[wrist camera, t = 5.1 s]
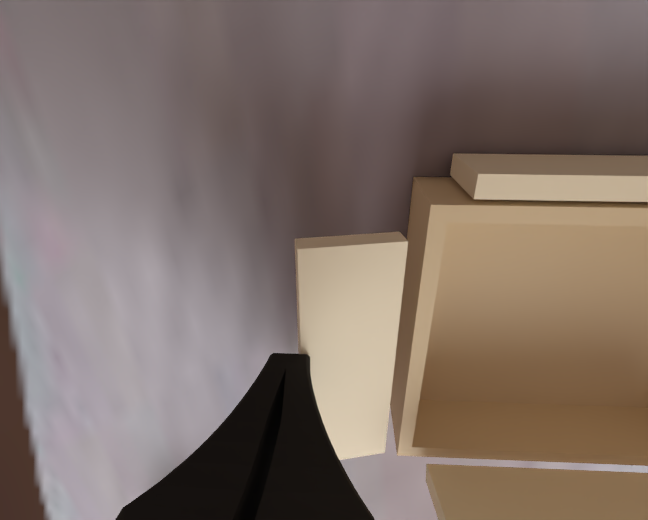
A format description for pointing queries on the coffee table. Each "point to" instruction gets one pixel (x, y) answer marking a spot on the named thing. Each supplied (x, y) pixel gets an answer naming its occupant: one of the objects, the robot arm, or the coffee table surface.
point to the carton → (526, 311)
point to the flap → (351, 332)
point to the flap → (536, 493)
